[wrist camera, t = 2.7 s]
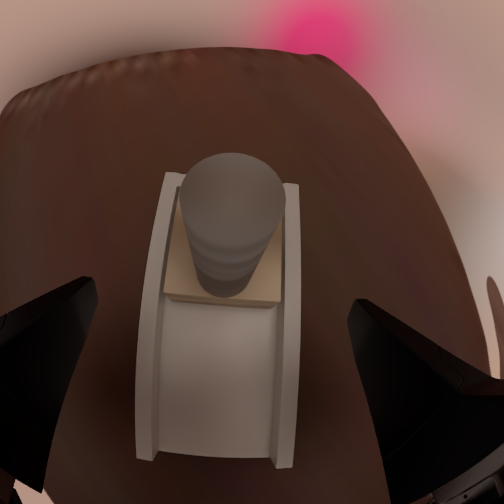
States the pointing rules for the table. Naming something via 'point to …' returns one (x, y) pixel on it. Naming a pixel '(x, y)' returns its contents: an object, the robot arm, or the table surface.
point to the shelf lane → (218, 358)
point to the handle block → (227, 234)
